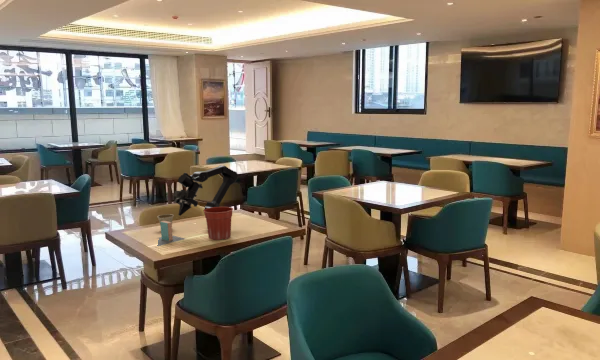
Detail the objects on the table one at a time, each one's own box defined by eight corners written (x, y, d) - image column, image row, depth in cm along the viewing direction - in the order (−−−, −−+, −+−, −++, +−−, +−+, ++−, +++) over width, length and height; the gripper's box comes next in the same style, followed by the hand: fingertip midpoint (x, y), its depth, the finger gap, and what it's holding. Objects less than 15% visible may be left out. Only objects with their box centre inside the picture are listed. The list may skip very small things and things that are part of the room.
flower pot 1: (172, 231, 294) (171, 217, 293) (156, 232, 294) (155, 217, 293) (176, 227, 303) (175, 214, 302) (161, 228, 304) (160, 214, 302)
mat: (170, 235, 285) (170, 234, 284) (185, 239, 275) (185, 238, 275) (139, 243, 270) (139, 242, 269) (154, 248, 260) (154, 247, 260)
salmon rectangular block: (165, 238, 278) (164, 220, 276) (172, 239, 273) (171, 222, 272) (161, 239, 276) (160, 221, 274) (168, 241, 271) (167, 223, 270)
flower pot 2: (230, 232, 288) (229, 205, 286) (237, 239, 273) (236, 210, 270) (202, 235, 282) (201, 208, 280) (208, 242, 267) (206, 213, 265)
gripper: (173, 184, 288) (160, 208, 282) (187, 184, 273) (175, 209, 268) (188, 194, 294) (176, 217, 288) (203, 193, 279) (191, 218, 274)
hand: (179, 215), depth 279 cm, fingers closed
